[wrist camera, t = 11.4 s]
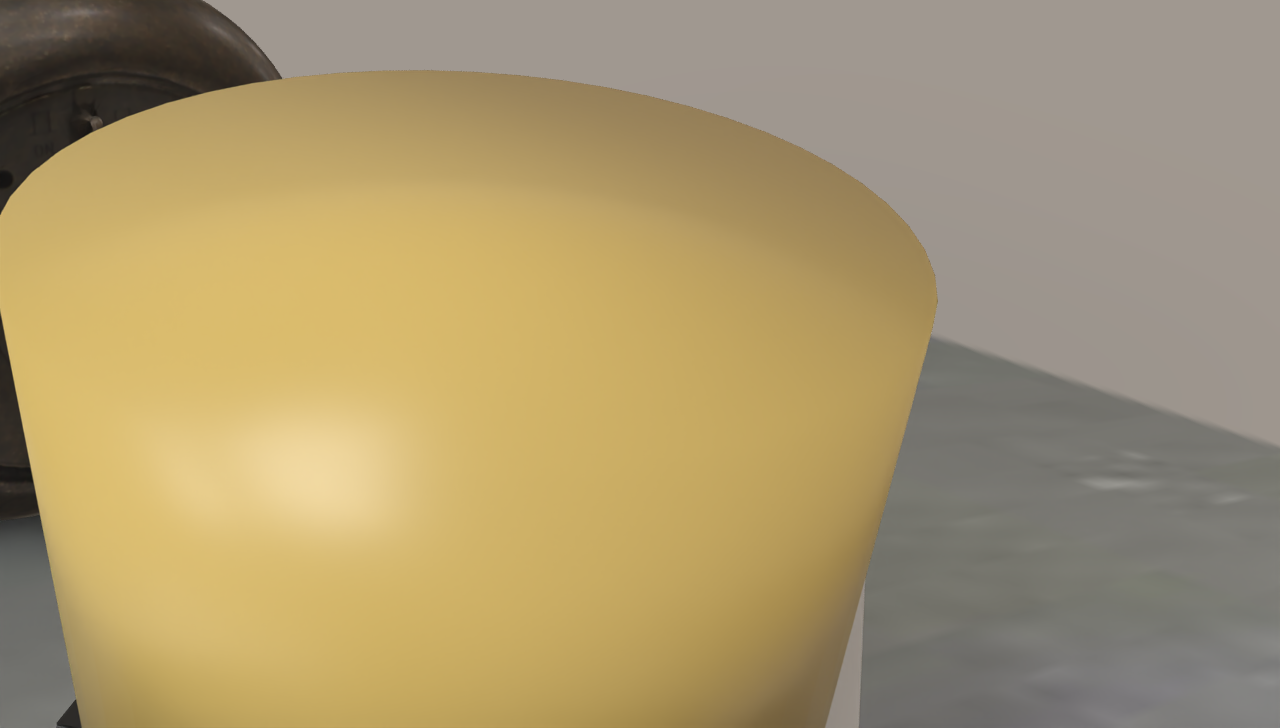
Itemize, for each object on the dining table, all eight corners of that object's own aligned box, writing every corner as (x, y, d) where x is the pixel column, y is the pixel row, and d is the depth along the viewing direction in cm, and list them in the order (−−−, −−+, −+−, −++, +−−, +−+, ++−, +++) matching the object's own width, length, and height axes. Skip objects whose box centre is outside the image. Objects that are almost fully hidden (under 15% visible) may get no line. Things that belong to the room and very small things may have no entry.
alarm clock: (230, 371, 31) (169, -349, 23) (364, 462, 28) (352, -319, 20) (-256, 562, 23) (-619, -419, 15) (-136, 714, 21) (-497, -384, 12)
